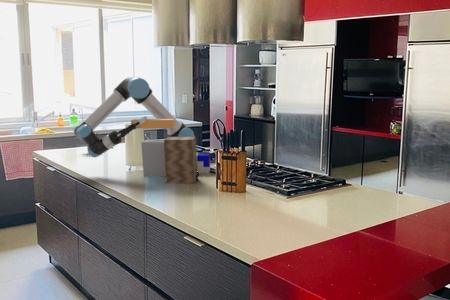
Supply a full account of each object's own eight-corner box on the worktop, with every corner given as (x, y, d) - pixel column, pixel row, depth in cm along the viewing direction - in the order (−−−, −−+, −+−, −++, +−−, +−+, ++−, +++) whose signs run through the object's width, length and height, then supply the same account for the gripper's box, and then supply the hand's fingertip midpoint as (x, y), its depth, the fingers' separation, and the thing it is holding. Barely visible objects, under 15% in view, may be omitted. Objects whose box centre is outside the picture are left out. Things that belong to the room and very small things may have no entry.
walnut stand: (166, 182, 250) (163, 139, 245) (170, 178, 258) (168, 136, 254) (194, 183, 248) (192, 139, 243) (197, 178, 256) (195, 136, 252)
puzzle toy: (209, 172, 270) (208, 155, 268) (191, 173, 270) (191, 155, 268) (210, 168, 280) (209, 151, 278) (193, 169, 280) (192, 152, 278)
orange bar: (131, 128, 265) (130, 120, 264) (133, 127, 269) (133, 119, 268) (173, 127, 262) (173, 119, 261) (175, 126, 265) (174, 118, 265)
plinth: (143, 175, 267) (141, 142, 263) (148, 172, 275) (146, 139, 272) (171, 175, 264) (169, 142, 261) (175, 172, 273) (173, 139, 270)
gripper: (121, 142, 278) (153, 122, 273) (110, 148, 262) (144, 126, 257) (114, 131, 278) (146, 111, 273) (103, 136, 261) (137, 114, 256)
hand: (145, 118), depth 265 cm, fingers closed on orange bar, 4 cm apart
